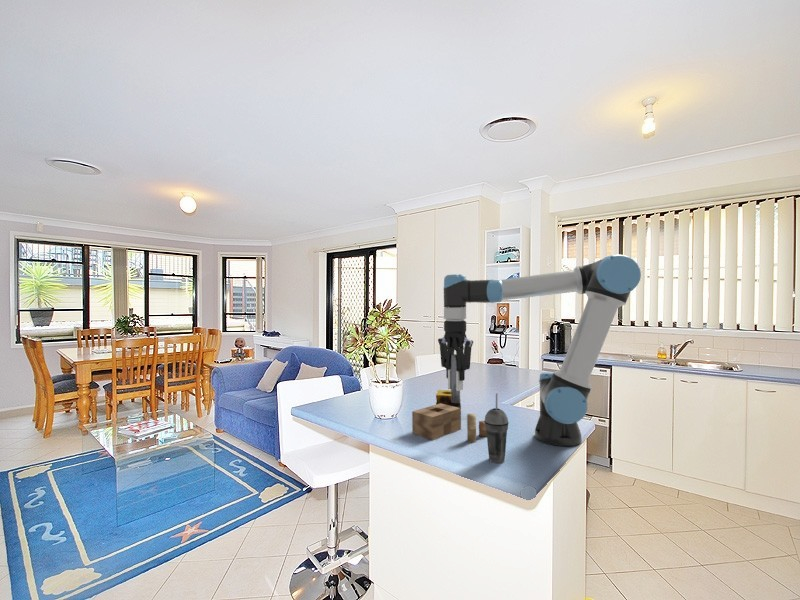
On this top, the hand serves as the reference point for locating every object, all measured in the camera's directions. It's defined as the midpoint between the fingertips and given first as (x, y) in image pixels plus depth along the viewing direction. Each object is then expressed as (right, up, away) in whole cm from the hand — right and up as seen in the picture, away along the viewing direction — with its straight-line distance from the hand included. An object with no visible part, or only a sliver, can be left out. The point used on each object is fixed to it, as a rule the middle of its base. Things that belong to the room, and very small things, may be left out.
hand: (455, 389), depth 131 cm
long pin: (0, -4, 0) cm, 4 cm away
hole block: (-5, -19, +13) cm, 23 cm away
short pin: (+11, -19, +8) cm, 23 cm away
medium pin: (+6, -19, +3) cm, 20 cm away
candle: (+2, -19, +32) cm, 37 cm away
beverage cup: (+11, -19, -13) cm, 25 cm away
